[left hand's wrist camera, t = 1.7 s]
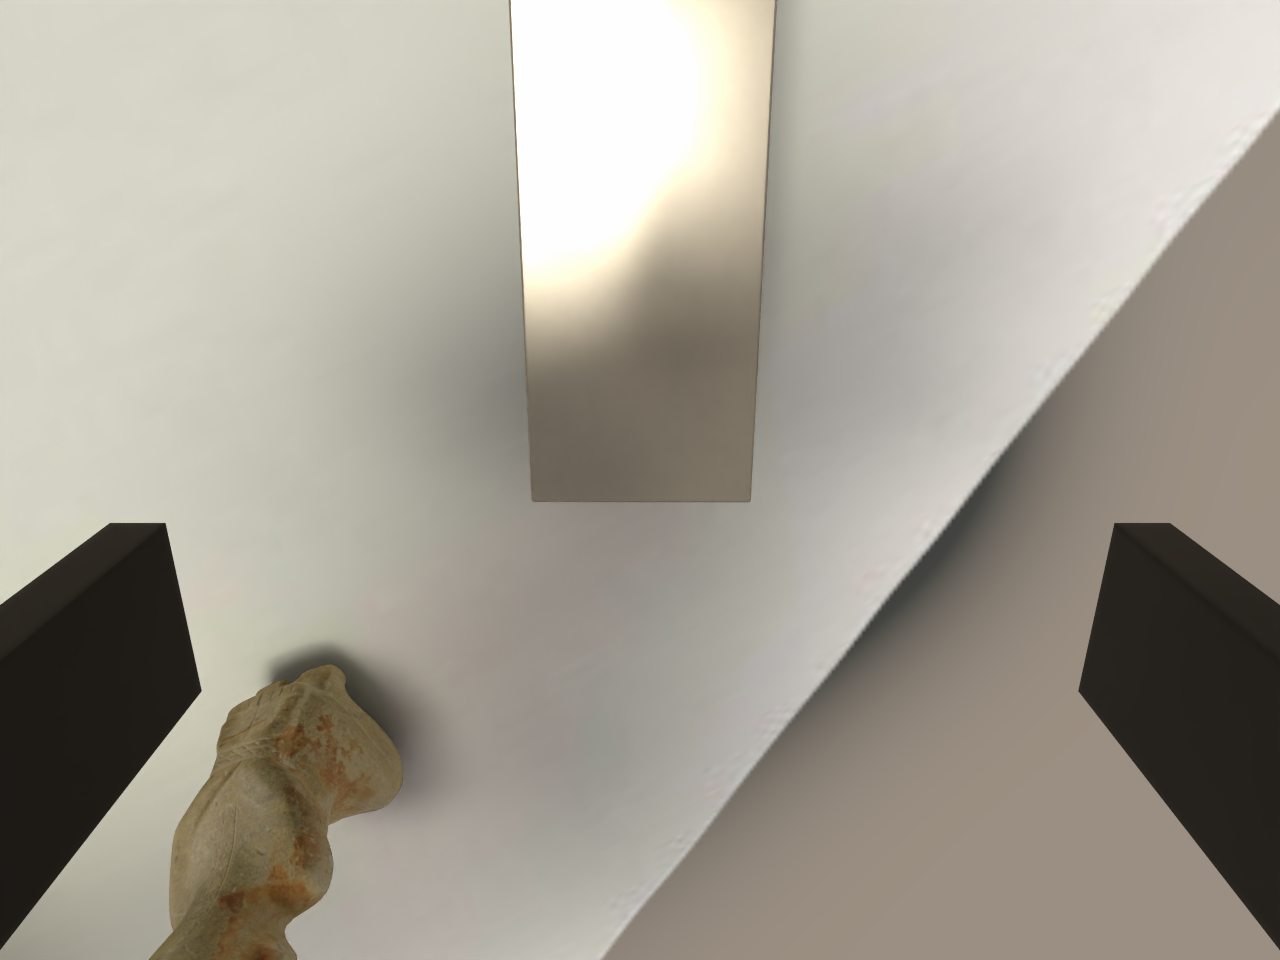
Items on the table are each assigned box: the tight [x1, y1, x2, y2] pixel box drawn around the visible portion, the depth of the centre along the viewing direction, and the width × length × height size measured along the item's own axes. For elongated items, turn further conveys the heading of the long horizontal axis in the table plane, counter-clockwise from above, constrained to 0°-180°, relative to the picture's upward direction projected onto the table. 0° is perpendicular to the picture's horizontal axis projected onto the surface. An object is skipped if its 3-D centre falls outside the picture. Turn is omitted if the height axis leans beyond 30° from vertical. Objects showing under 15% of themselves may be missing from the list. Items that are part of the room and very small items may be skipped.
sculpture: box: [149, 664, 403, 960], centre depth 31 cm, size 6×7×15 cm
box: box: [509, 0, 777, 502], centre depth 25 cm, size 22×6×8 cm, turn 0°
